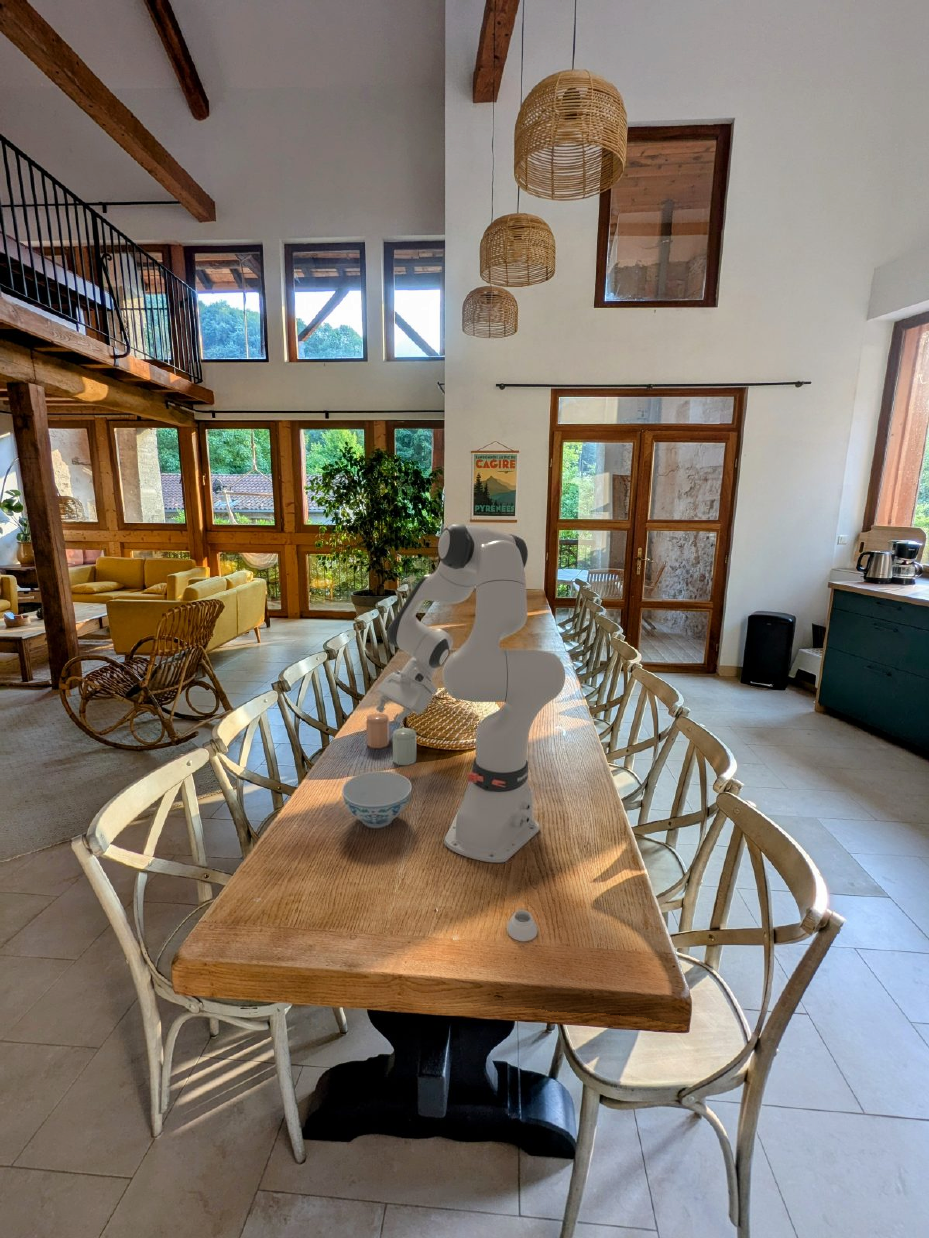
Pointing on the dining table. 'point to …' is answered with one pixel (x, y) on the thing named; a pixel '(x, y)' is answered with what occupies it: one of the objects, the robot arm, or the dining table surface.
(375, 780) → the chinaware
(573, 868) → the dining table surface
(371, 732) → the pink clay canister
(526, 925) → the lidless jar
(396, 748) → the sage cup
